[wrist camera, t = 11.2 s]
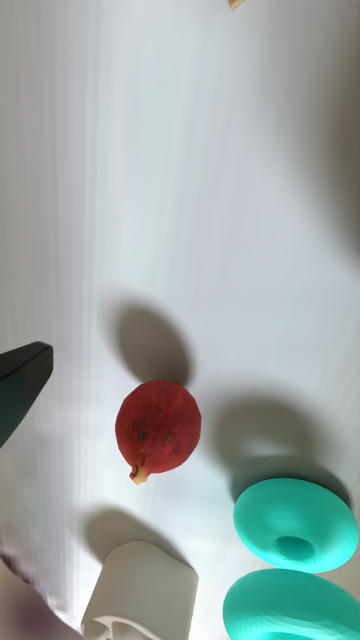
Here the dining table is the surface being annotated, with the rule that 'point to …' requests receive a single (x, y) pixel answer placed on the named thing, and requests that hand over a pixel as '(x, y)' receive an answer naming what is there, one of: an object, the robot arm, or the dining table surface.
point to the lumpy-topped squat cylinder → (141, 596)
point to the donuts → (293, 564)
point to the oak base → (234, 3)
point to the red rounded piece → (157, 428)
